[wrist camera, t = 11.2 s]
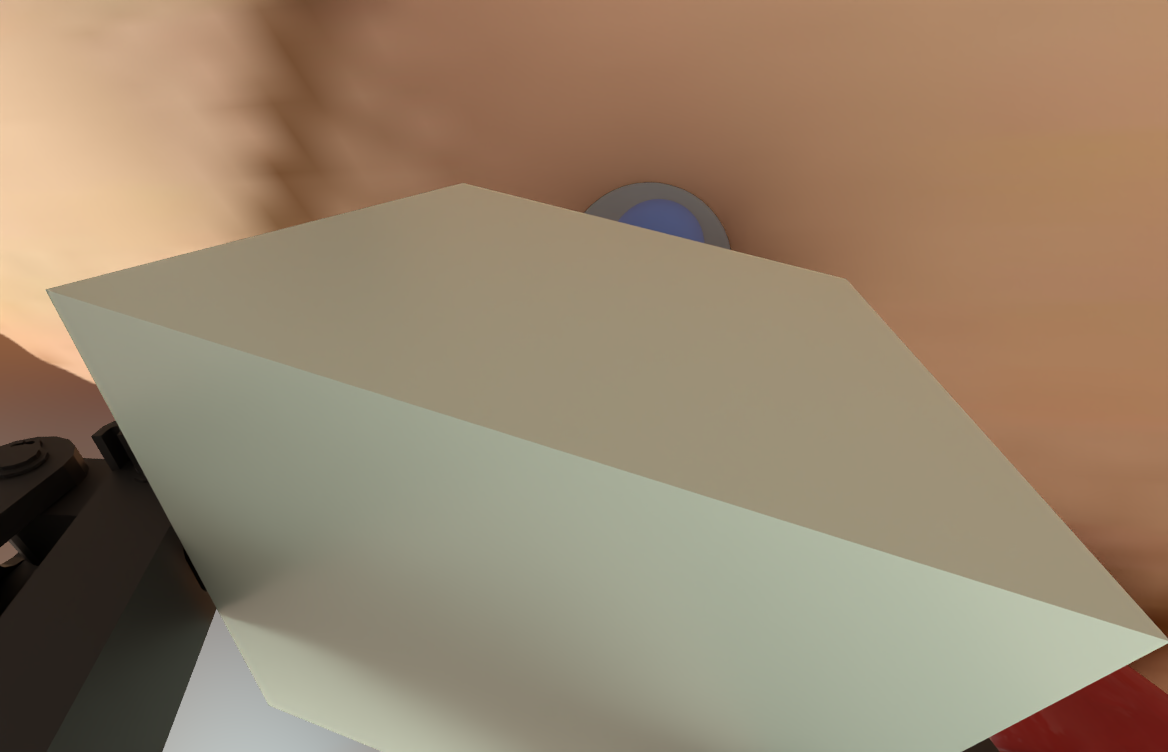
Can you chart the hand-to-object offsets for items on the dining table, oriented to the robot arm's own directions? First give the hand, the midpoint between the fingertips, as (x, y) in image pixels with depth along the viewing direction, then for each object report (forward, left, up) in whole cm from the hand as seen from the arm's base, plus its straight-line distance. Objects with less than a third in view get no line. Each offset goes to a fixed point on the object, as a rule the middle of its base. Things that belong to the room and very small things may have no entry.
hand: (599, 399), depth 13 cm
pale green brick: (0, 0, -1) cm, 1 cm away
